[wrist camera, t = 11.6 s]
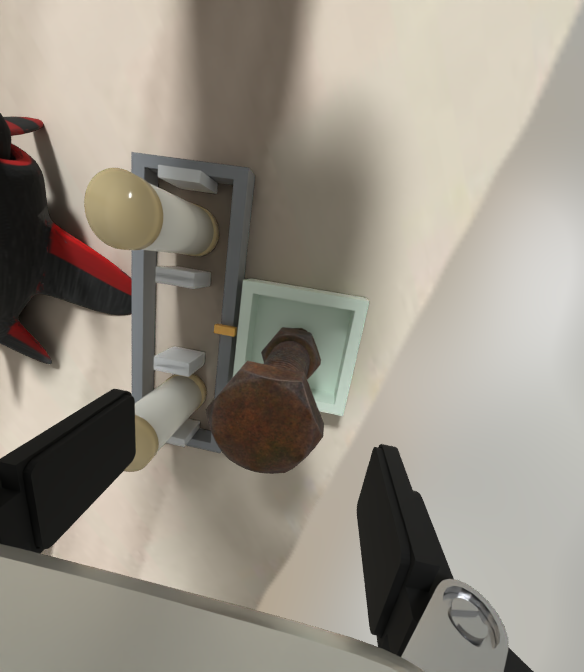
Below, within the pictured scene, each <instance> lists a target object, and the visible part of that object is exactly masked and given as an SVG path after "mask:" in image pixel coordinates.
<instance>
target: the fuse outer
mask: <svg viewBox="0 0 584 672" xmlns="http://www.w3.org/2000/svg"><path fill="white" fill-rule="evenodd" d="M206 395H207V392H206V387H205V384H204V383H203V381H202V380H201V379H200V378H199V377H198V376H197V375H195V374H192V375H190V376H189V377H187V376H182V375H177V374H174V375H172V376H171V377H170V378H168V379H167V380H166V382H164V383H163V384H161V385H160V386H159V387H157V388H156V389H154V390H153V391H151V392H150V393H149V394H147V395H146V396H144V397H143V398H142V399H140V400H139V401H137V402H136V403H135V437H136V454H135V457H134V459H133V461H132V462H131V464H130V465H129V466H128V467H127V468H126V469H125V470H124V471H126V472H134V471H138V470H141V469H143V468H144V467H145V466H146V465H147V464H148V463H149V462H150V461H151V460H152V459H153V457H154V456H155V455H156V454H157V451H158V450H159V449H160V448H161V447H162V446H163V445H164V444H165V443H166V442H167V440H168V439H169V438H170V437H171V436H172V435H173V434H174V433H175V432H176V431H177V430H178V429H179V427H180V426H181V425H182V424H183V423H184V422H185V421H186V420H187V419H188V418H189V417H190V415H191V414H192V413H193V412H194V411H196V410H197V409H198V408H199V407H200V406H201V405H202V404H203V403H204V401H205V399H206Z"/></svg>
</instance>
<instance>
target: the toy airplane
mask: <svg viewBox="0 0 584 672" xmlns="http://www.w3.org/2000/svg"><path fill="white" fill-rule="evenodd" d="M42 127H43V122H42V121H41V120H39V119H34V118H28V117H3V116H2V115H1V113H0V344H3V345H5V346H7V347H9V348H11V349H13V350H15V351H17V352H20V353H22V354H24V355H26V356H28V357H31V358H33V359H35V360H37V361H40V362H43V363H46V364H52V361H51V358H50V356H49V355H48V353H47V352H46V350H45V349H44V348H43V347H42V346H41V344H40V343H39V342H38V341H37V340H36V339H35V338H34V337H33V336H32V335H31V334H30V333H29V332H28V331H27V330H26V329H25V328H24V326H23V325H22V324H21V323H20V321H19V319H18V316H19V314H20V313H21V311H22V310H23V309H24V307H25V306H26V305H27V303H28V302H29V300H30V299H31V298H32V297H33V296H34V295H36V294H45V295H49V296H53V297H56V298H59V299H62V300H65V301H68V302H71V303H74V304H77V305H80V306H83V307H86V308H89V309H92V310H95V311H99V312H103V313H107V314H113V315H128V314H132V279H131V278H130V277H129V276H128V275H127V274H126V273H124V272H123V271H122V270H121V269H120V268H118V267H117V266H116V265H114V264H113V263H112V262H110V261H109V260H108V259H106V258H105V257H103V256H102V255H101V254H99V253H98V252H96V251H95V250H93V249H92V248H90V247H89V246H87V245H86V244H84V243H83V242H81V241H80V240H78V239H76V238H75V237H73V236H72V235H70V234H69V233H67V232H66V231H64V230H63V229H61V228H60V227H58V226H57V225H56V224H55V223H54V222H52V220H51V219H50V217H49V213H48V207H47V200H46V190H45V182H44V177H43V174H42V171H41V169H40V167H39V166H38V164H37V163H36V161H35V160H34V159H33V158H32V157H31V156H29V155H28V154H27V153H26V152H24V151H23V150H21V149H20V148H18V147H17V146H15V145H13V144H12V143H11V136H14V135H21V134H25V133H30V132H33V131H35V130H38V129H40V128H42Z"/></svg>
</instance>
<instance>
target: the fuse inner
mask: <svg viewBox="0 0 584 672" xmlns="http://www.w3.org/2000/svg"><path fill="white" fill-rule="evenodd" d="M84 207H85V213H86V217H87V220H88V223H89V225H90V227H91V229H92V230H93V232H94V233H95V235H96V236H97V237H98V238H99V239H100V240H101V241H103V242H104V243H105V244H107V245H109V246H111V247H113V248H117V249H124V250H149V251H159V252H169V253H178V254H185V255H189V256H204V255H207V254H208V253H210V252H211V251H212V250H213V249H214V248H215V246H216V244H217V242H218V238H219V228H218V224H217V221H216V219H215V217H214V216H213V215H212V213H211V212H209V211H208V210H207V209H205V208H203V207H201V206H199V205H197V204H193V203H190V202H188V201H186V200H184V199H182V198H180V197H177V196H175V195H173V194H171V193H169V192H167V191H165V190H163V189H161V188H158V187H156V186H154V185H152V184H150V183H148V182H147V181H146V180H144V179H143V178H141V177H139V176H137V175H135V174H133V173H131V172H129V171H127V170H124V169H120V168H108V169H105V170H103V171H101V172H99V173H98V174H96V175H95V176H94V177H93V178H92V180H91V181H90V183H89V185H88V187H87V189H86V193H85V200H84Z"/></svg>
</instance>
